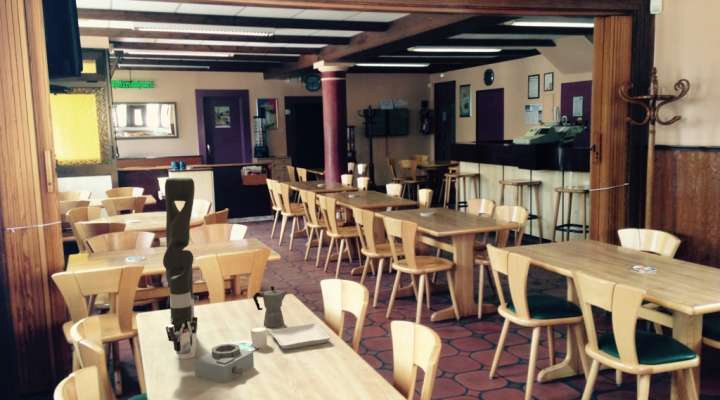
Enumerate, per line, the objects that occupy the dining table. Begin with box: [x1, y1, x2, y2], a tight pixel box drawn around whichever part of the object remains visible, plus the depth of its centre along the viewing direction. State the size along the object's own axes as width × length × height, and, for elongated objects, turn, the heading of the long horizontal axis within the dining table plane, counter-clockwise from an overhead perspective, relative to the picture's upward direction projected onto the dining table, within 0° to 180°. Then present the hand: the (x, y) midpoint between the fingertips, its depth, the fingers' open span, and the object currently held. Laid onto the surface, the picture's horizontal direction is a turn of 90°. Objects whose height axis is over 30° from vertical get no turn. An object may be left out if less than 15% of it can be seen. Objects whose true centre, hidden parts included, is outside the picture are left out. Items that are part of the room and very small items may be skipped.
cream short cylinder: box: [250, 326, 268, 349], centre depth 259 cm, size 7×7×7 cm
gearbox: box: [194, 343, 255, 384], centre depth 231 cm, size 17×16×8 cm
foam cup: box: [177, 326, 199, 360], centre depth 248 cm, size 10×9×13 cm
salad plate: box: [269, 323, 331, 350], centre depth 264 cm, size 21×21×3 cm
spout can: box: [175, 328, 191, 355], centre depth 232 cm, size 5×5×9 cm
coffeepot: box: [252, 285, 288, 329], centre depth 285 cm, size 15×9×18 cm, turn 103°
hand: (183, 348), depth 233 cm, fingers closed on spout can, 5 cm apart
